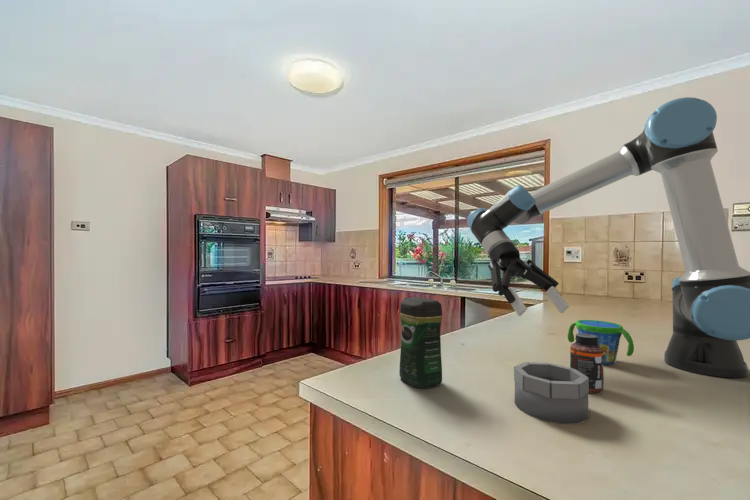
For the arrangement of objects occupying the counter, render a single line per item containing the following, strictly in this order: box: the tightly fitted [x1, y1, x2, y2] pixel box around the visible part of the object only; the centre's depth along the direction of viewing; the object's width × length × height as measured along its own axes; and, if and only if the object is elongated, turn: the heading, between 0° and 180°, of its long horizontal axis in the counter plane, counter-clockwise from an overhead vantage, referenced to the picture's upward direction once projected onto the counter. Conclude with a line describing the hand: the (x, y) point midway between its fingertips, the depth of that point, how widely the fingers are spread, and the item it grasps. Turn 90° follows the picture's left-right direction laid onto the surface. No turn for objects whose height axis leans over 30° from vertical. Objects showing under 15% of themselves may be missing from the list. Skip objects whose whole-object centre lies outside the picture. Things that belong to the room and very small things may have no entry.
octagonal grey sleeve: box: [513, 361, 590, 425], centre depth 62 cm, size 12×12×6 cm
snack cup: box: [567, 319, 635, 366], centre depth 90 cm, size 16×10×10 cm
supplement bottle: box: [569, 333, 604, 394], centre depth 71 cm, size 6×6×11 cm
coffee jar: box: [398, 296, 444, 389], centre depth 74 cm, size 10×8×19 cm
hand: (544, 311), depth 81 cm, fingers open, 13 cm apart
